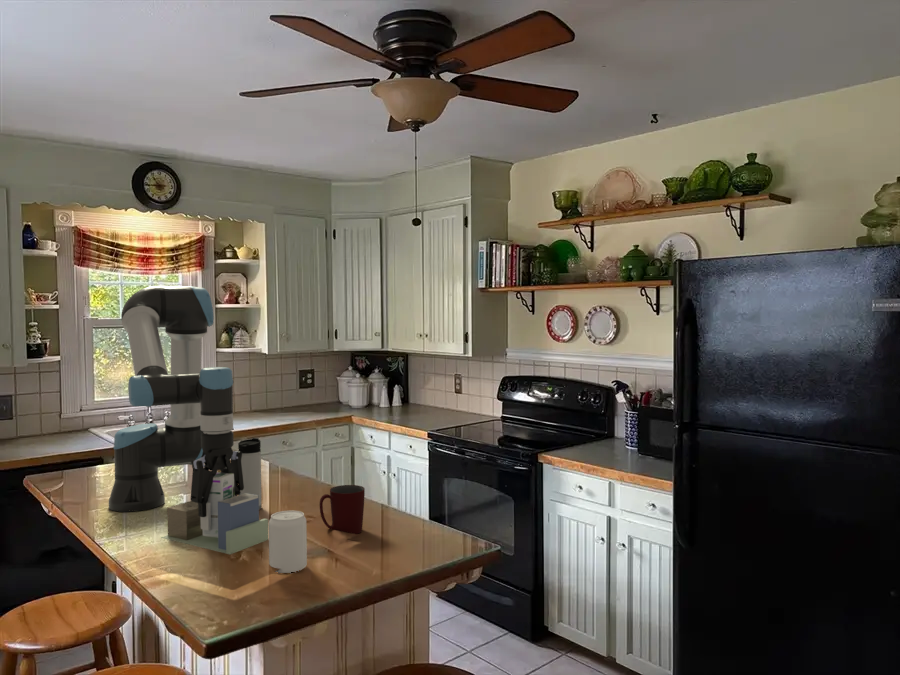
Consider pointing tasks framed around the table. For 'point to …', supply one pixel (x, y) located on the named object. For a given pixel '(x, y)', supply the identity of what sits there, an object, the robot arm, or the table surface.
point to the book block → (236, 514)
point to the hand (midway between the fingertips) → (218, 525)
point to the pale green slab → (232, 538)
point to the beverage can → (288, 541)
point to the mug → (345, 508)
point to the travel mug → (251, 466)
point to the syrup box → (219, 498)
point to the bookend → (184, 521)
